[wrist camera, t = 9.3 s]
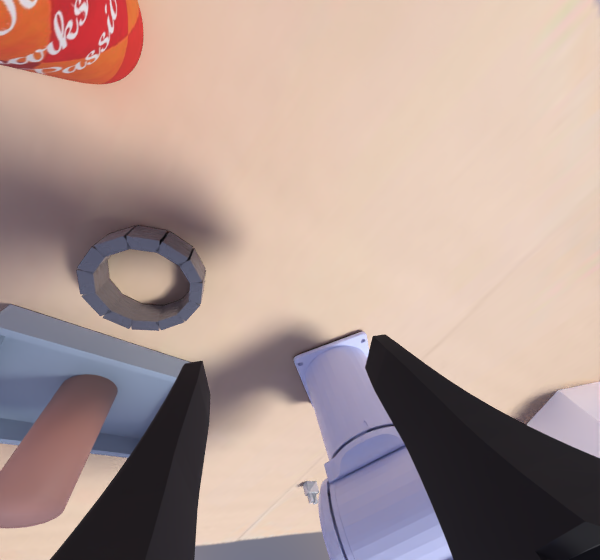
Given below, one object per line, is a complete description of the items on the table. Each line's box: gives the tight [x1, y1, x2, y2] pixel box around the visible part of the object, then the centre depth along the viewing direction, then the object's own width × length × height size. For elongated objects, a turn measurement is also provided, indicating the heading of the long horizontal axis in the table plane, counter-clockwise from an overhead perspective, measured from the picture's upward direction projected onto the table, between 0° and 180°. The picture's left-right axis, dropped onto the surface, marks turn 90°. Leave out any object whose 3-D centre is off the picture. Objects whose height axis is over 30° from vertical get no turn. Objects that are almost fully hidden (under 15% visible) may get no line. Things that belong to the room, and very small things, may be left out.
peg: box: [0, 374, 118, 528], centre depth 17 cm, size 4×4×8 cm
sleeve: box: [77, 225, 206, 331], centre depth 17 cm, size 7×7×2 cm
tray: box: [0, 304, 191, 458], centre depth 20 cm, size 14×12×2 cm
